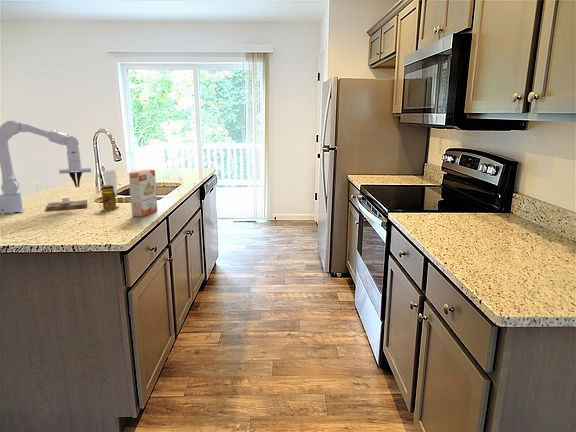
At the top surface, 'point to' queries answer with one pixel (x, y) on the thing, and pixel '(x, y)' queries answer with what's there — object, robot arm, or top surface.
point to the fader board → (67, 205)
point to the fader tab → (65, 199)
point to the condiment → (108, 198)
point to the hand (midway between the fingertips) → (77, 186)
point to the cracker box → (143, 192)
